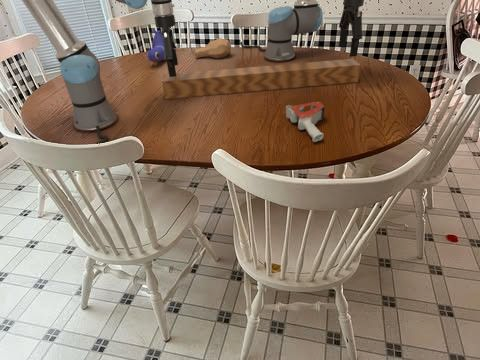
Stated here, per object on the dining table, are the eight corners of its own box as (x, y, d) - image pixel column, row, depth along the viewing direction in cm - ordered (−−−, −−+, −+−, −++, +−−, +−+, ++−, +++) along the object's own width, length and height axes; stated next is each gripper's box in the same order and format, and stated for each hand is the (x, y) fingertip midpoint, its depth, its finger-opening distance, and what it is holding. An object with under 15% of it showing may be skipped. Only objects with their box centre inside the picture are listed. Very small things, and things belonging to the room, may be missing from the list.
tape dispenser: (318, 148, 112) (340, 119, 125) (320, 134, 109) (342, 106, 122) (269, 134, 120) (295, 107, 132) (269, 120, 116) (295, 94, 129)
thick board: (165, 98, 148) (161, 81, 144) (166, 91, 155) (163, 74, 150) (358, 82, 152) (360, 64, 147) (351, 75, 159) (353, 58, 154)
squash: (233, 58, 187) (229, 42, 180) (196, 65, 189) (191, 49, 182) (232, 49, 194) (229, 33, 188) (196, 56, 196) (192, 40, 190)
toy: (161, 62, 200) (141, 68, 178) (157, 30, 193) (135, 32, 171) (177, 61, 198) (159, 67, 176) (173, 29, 191) (154, 30, 169)
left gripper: (172, 21, 123) (181, 80, 136) (175, 7, 143) (184, 60, 156) (150, 23, 123) (162, 82, 136) (157, 9, 143) (167, 61, 156)
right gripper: (377, -1, 125) (367, 59, 138) (352, -12, 146) (346, 42, 158) (356, 1, 125) (348, 61, 138) (334, -10, 145) (329, 43, 158)
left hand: (174, 70), depth 146 cm, fingers open, 13 cm apart
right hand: (347, 51), depth 148 cm, fingers open, 13 cm apart
